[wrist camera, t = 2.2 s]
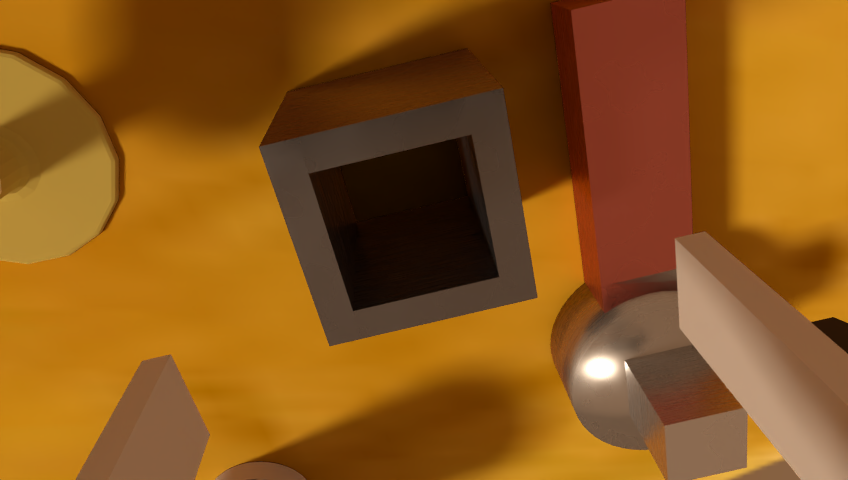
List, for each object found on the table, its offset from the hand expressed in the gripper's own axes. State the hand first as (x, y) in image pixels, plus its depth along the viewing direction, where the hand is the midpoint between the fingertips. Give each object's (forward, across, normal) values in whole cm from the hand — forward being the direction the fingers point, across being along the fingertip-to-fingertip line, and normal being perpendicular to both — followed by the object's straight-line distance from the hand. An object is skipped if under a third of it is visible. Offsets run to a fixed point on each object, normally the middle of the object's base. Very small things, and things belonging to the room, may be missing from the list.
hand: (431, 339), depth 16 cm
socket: (+14, 0, 0) cm, 14 cm away
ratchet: (+14, +10, -6) cm, 18 cm away
